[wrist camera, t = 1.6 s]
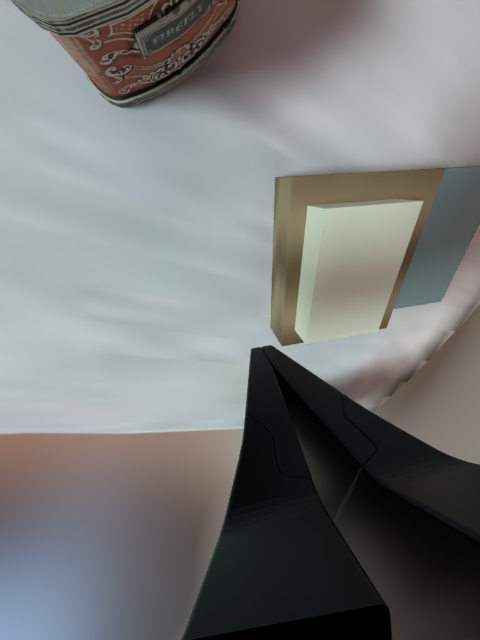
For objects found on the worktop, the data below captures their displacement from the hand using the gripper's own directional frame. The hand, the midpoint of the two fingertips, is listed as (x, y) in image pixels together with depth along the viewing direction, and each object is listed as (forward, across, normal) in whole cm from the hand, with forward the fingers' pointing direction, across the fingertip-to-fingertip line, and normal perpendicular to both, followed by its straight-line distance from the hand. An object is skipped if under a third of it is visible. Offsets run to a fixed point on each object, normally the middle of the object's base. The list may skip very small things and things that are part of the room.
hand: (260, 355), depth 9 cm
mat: (+10, -18, 0) cm, 21 cm away
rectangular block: (+7, -8, 0) cm, 11 cm away
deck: (+10, -9, 0) cm, 13 cm away
